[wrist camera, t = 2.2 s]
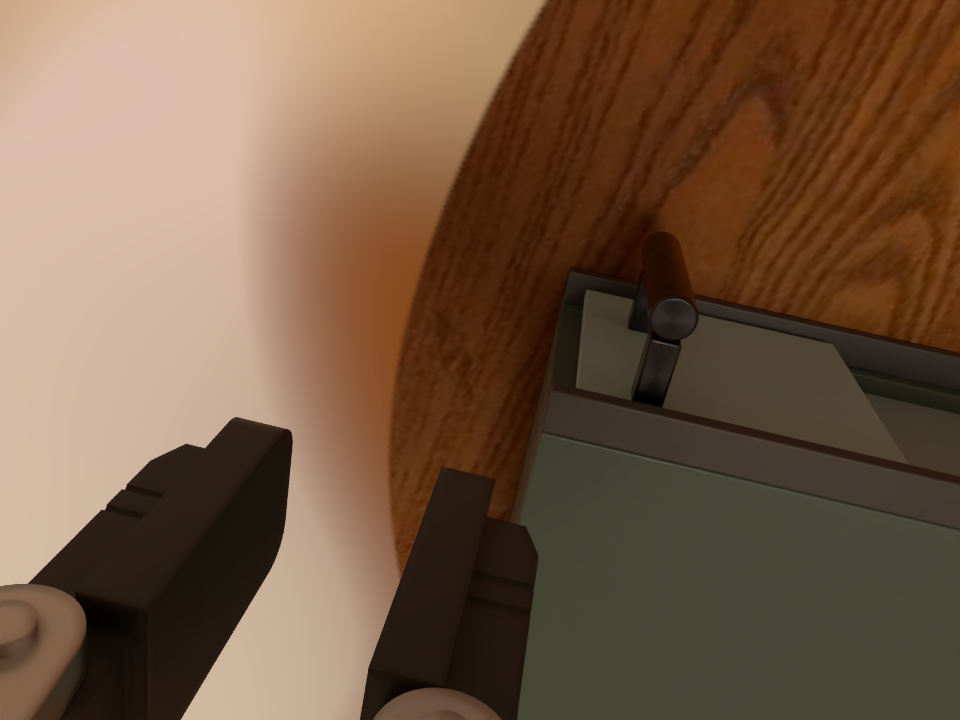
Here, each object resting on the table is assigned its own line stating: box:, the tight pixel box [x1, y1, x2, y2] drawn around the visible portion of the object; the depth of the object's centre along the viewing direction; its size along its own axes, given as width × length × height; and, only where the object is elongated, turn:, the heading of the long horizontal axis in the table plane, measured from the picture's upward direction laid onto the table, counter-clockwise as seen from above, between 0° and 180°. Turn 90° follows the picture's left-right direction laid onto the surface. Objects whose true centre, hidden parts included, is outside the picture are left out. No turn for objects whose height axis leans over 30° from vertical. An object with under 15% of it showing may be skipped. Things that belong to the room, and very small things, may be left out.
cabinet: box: [509, 268, 960, 720], centre depth 27 cm, size 13×18×10 cm
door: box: [576, 232, 908, 464], centre depth 24 cm, size 4×9×8 cm, turn 80°
